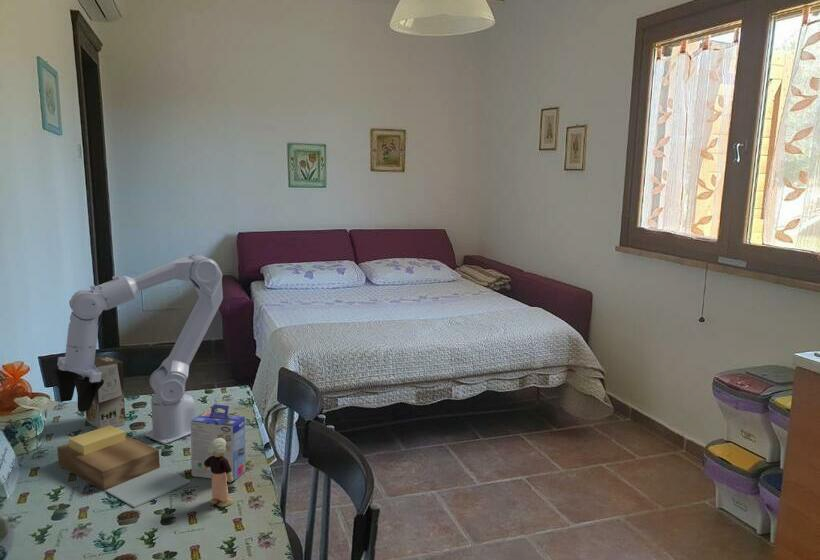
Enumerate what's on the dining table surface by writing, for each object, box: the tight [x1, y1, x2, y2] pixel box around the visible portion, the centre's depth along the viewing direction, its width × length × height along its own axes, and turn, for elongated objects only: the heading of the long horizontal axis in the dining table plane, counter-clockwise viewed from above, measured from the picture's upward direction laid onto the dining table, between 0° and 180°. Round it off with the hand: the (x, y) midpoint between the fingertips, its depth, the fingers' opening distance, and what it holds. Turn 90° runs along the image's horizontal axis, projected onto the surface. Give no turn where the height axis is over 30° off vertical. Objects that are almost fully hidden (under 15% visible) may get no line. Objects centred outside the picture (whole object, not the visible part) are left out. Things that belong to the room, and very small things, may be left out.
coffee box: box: [82, 354, 127, 429], centre depth 148 cm, size 9×6×16 cm
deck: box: [56, 434, 161, 492], centre depth 127 cm, size 12×18×4 cm, turn 56°
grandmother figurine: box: [203, 438, 234, 508], centre depth 113 cm, size 8×4×13 cm, turn 71°
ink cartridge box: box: [190, 403, 247, 482], centre depth 124 cm, size 10×6×14 cm, turn 78°
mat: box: [105, 466, 191, 509], centre depth 119 cm, size 12×10×1 cm
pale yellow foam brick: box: [68, 425, 126, 455], centre depth 128 cm, size 9×6×2 cm, turn 145°
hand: (74, 405), depth 131 cm, fingers open, 7 cm apart
